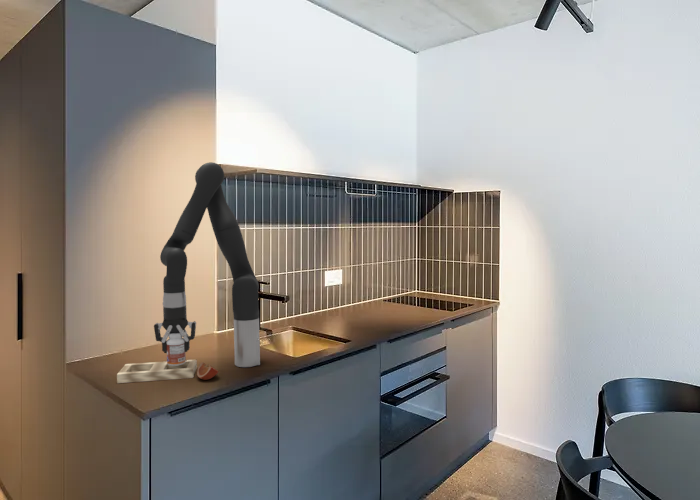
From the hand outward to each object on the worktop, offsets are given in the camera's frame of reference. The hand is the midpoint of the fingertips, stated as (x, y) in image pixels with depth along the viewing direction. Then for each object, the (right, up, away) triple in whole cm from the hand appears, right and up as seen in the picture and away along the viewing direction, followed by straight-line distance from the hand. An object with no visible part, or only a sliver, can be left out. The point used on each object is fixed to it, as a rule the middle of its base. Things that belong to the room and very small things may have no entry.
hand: (176, 351), depth 163 cm
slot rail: (-6, -8, -1) cm, 10 cm away
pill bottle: (0, -4, 0) cm, 4 cm away
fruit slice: (+12, -8, -4) cm, 16 cm away
